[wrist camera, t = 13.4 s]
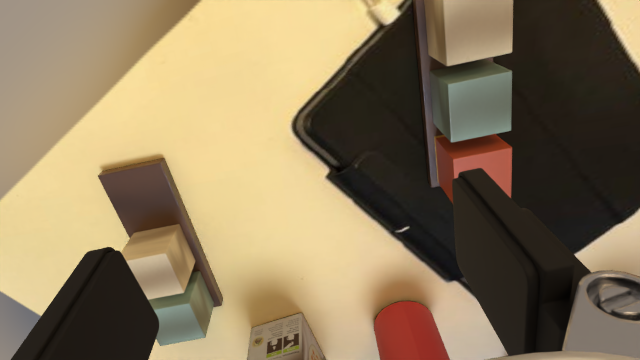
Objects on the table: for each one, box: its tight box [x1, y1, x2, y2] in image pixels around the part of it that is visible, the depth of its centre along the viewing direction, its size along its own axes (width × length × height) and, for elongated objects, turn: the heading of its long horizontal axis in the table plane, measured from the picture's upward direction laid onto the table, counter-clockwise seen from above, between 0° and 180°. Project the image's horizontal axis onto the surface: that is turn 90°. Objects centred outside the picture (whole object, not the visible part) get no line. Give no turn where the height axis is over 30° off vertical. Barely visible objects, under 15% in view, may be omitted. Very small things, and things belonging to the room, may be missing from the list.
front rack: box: [412, 0, 513, 188], centre depth 31 cm, size 17×6×5 cm, turn 12°
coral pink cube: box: [436, 134, 512, 204], centre depth 33 cm, size 4×4×4 cm
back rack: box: [98, 158, 223, 346], centre depth 36 cm, size 17×6×5 cm, turn 12°
